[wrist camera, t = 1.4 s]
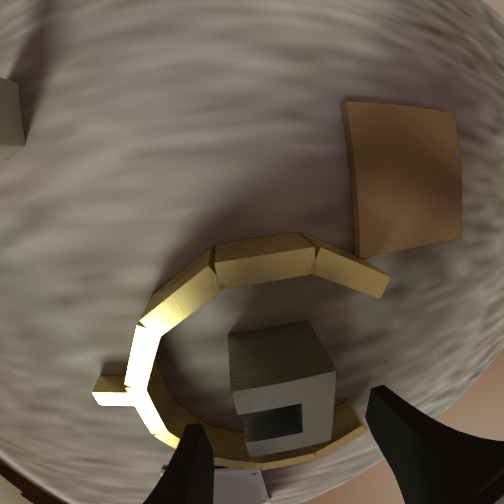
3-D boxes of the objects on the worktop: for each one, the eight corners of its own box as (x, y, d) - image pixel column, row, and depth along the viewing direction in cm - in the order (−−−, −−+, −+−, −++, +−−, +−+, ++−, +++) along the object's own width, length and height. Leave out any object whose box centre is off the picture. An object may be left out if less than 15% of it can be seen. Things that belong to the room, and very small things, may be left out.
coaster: (454, 235, 13) (460, 237, 13) (354, 254, 13) (360, 258, 12) (447, 114, 11) (454, 113, 11) (340, 104, 11) (345, 101, 10)
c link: (310, 390, 15) (330, 440, 11) (243, 402, 15) (249, 456, 11) (308, 320, 13) (336, 370, 10) (227, 334, 13) (231, 391, 9)
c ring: (351, 420, 16) (363, 445, 14) (144, 448, 15) (139, 474, 13) (363, 222, 12) (391, 234, 10) (57, 271, 11) (31, 291, 9)
